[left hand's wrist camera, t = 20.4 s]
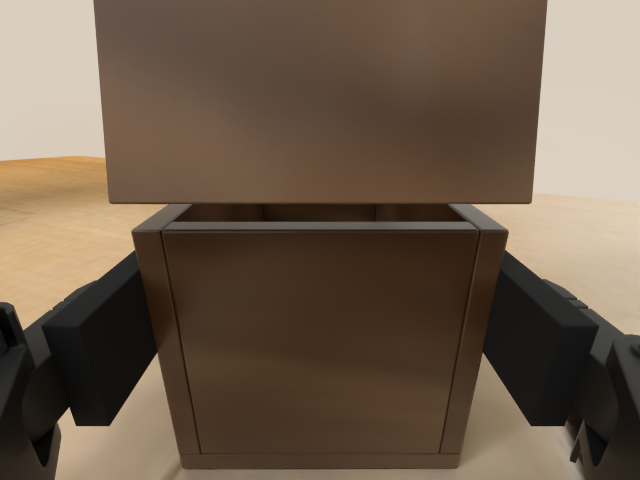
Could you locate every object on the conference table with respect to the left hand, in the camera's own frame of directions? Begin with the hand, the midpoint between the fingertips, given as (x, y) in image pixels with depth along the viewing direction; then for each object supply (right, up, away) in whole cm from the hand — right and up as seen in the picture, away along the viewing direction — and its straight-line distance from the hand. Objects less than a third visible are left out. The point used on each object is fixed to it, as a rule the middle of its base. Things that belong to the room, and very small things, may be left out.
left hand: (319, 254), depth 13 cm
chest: (0, -4, +6) cm, 8 cm away
